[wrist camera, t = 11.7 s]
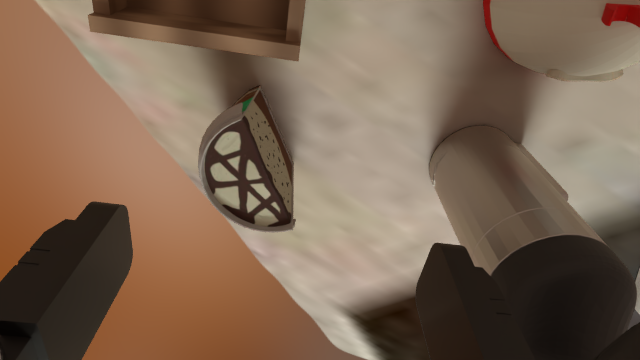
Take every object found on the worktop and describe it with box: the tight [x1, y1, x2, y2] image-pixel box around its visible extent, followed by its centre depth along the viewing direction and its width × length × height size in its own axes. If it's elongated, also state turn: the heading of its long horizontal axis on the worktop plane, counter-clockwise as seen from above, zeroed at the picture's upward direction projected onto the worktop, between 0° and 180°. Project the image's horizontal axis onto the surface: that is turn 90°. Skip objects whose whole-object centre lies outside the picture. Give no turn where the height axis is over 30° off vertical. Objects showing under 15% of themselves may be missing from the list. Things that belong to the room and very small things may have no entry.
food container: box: [198, 86, 296, 232], centre depth 38 cm, size 12×6×10 cm, turn 18°
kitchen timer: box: [483, 0, 640, 82], centre depth 29 cm, size 14×14×15 cm
